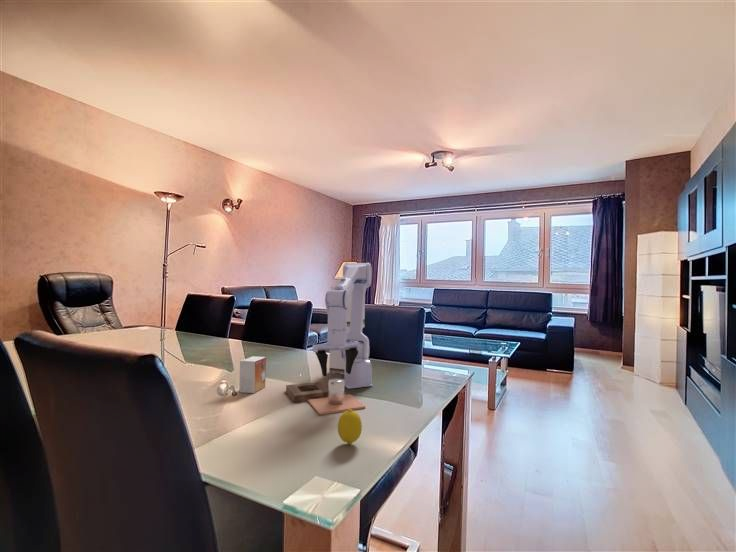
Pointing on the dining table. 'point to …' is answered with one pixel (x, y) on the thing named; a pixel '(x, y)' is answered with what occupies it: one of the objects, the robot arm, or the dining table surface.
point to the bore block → (307, 391)
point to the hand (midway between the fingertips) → (336, 374)
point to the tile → (325, 408)
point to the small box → (252, 374)
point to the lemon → (349, 426)
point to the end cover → (336, 391)
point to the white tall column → (335, 359)
